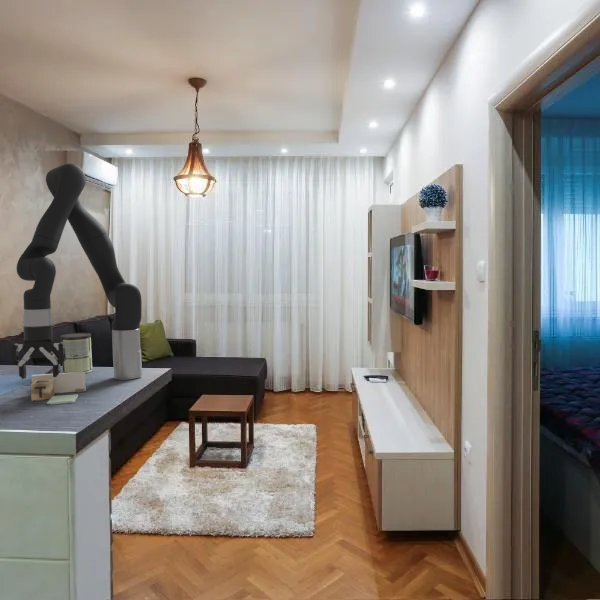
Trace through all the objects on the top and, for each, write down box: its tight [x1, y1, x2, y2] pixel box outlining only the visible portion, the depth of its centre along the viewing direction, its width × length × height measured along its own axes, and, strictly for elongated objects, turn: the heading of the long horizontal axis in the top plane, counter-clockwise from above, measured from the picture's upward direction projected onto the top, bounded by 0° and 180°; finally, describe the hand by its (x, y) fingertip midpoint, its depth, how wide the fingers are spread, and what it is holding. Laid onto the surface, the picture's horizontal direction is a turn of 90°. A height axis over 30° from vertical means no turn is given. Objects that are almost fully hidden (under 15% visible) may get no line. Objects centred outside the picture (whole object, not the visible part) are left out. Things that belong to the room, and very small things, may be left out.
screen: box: [31, 372, 87, 394], centre depth 147 cm, size 15×3×6 cm, turn 105°
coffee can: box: [60, 332, 93, 374], centre depth 175 cm, size 10×10×14 cm
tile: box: [46, 394, 79, 405], centre depth 138 cm, size 7×7×1 cm
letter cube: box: [30, 379, 55, 402], centre depth 141 cm, size 5×5×5 cm
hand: (39, 377), depth 141 cm, fingers open, 8 cm apart
